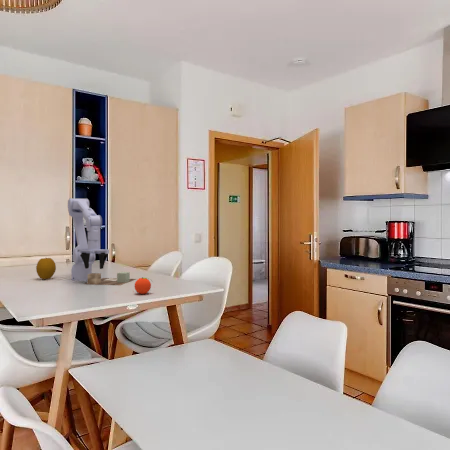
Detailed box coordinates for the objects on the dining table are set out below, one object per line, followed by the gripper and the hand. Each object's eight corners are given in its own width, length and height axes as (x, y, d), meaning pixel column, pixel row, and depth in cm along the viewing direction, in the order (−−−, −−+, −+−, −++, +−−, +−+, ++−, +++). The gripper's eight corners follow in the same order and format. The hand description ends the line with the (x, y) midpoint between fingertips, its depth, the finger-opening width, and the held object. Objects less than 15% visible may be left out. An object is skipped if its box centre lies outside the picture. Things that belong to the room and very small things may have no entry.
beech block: (87, 283, 195) (87, 274, 195) (92, 282, 200) (92, 273, 200) (96, 284, 194) (96, 274, 194) (100, 282, 199) (100, 273, 199)
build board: (82, 286, 194) (82, 283, 194) (103, 279, 214) (103, 277, 214) (120, 287, 191) (120, 285, 191) (137, 280, 210) (137, 278, 210)
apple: (51, 280, 212) (50, 258, 211) (32, 280, 212) (32, 258, 212) (59, 277, 221) (58, 256, 221) (41, 277, 222) (41, 256, 221)
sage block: (117, 282, 199) (117, 273, 199) (121, 280, 204) (121, 271, 204) (125, 282, 198) (125, 273, 198) (129, 281, 203) (129, 272, 203)
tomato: (150, 291, 180) (150, 275, 180) (155, 294, 174) (155, 277, 174) (132, 293, 176) (132, 276, 176) (136, 296, 170) (136, 279, 170)
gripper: (75, 240, 194) (75, 269, 194) (103, 240, 191) (104, 269, 192) (83, 239, 201) (83, 267, 201) (110, 240, 198) (111, 268, 198)
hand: (94, 268), depth 197 cm, fingers open, 7 cm apart
